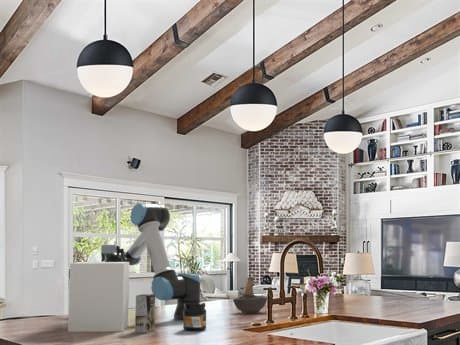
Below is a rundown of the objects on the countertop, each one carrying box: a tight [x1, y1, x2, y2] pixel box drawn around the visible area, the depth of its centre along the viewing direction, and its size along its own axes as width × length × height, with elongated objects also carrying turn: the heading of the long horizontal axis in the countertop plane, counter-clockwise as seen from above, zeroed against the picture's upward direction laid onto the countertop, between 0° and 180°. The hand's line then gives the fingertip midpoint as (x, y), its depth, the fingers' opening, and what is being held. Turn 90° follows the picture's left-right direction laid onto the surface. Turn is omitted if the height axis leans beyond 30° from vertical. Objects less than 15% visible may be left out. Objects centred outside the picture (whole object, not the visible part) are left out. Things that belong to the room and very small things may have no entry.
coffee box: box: [134, 293, 156, 334], centre depth 278 cm, size 9×6×16 cm
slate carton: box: [100, 244, 116, 254], centre depth 315 cm, size 4×24×4 cm, turn 2°
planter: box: [232, 276, 268, 314], centre depth 352 cm, size 15×17×20 cm
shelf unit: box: [67, 261, 130, 333], centre depth 289 cm, size 24×21×30 cm
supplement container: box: [182, 301, 207, 332], centre depth 283 cm, size 10×10×12 cm
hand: (110, 243), depth 319 cm, fingers closed on slate carton, 4 cm apart
